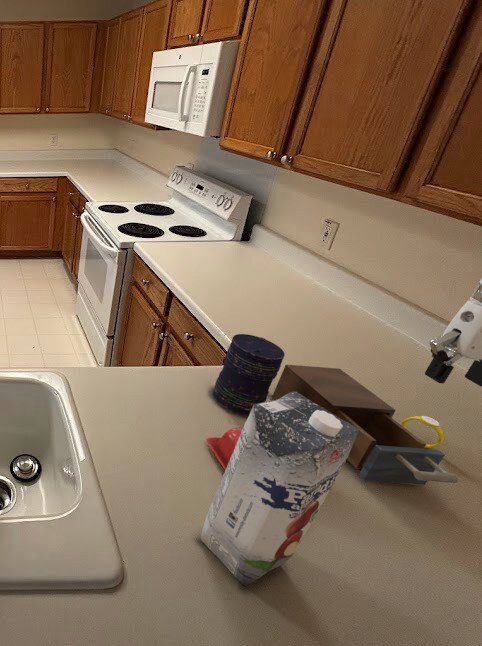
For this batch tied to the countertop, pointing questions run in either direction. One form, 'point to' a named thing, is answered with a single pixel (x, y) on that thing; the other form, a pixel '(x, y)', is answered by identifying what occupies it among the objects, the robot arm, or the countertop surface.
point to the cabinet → (329, 389)
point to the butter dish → (225, 445)
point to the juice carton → (275, 484)
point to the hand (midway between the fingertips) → (454, 380)
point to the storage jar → (247, 373)
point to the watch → (428, 422)
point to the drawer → (391, 451)
